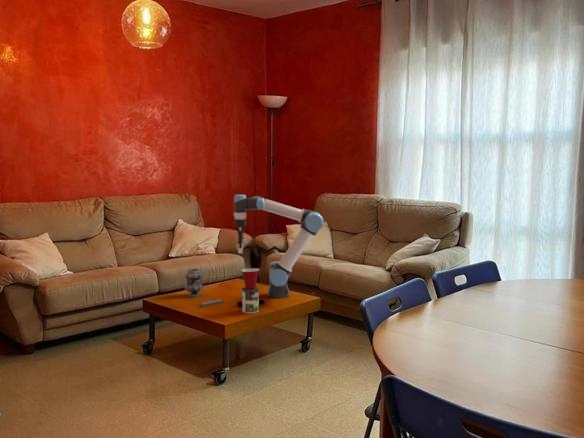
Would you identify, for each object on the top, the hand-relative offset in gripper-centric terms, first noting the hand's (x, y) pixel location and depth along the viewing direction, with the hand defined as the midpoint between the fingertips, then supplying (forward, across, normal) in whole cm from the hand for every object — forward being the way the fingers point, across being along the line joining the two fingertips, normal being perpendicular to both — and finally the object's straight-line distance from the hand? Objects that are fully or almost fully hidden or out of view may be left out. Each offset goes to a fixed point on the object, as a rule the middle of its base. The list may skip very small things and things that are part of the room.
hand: (240, 251), depth 355 cm
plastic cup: (+19, +24, +6) cm, 31 cm away
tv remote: (+33, +6, -19) cm, 39 cm away
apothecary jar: (+33, -16, -32) cm, 49 cm away
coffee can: (+33, +24, +6) cm, 41 cm away
